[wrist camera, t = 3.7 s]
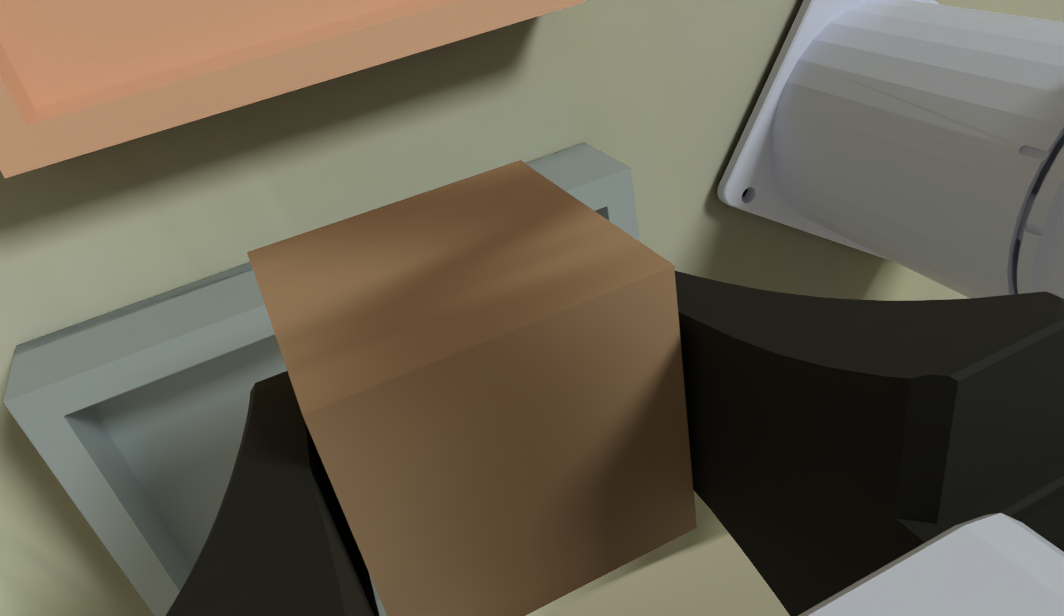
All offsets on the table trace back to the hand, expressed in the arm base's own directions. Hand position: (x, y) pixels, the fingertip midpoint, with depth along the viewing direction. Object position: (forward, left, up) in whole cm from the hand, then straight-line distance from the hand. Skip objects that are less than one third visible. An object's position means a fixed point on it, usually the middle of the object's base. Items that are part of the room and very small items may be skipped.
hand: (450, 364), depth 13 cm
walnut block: (0, 0, -1) cm, 1 cm away
